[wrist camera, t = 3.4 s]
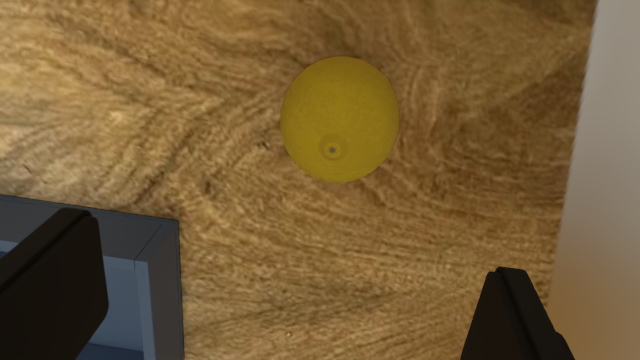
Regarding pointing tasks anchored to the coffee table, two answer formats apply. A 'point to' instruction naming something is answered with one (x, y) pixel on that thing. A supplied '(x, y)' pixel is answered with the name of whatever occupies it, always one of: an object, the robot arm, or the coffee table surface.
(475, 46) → the coffee table surface
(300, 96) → the lemon
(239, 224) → the coffee table surface
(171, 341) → the blue bin
